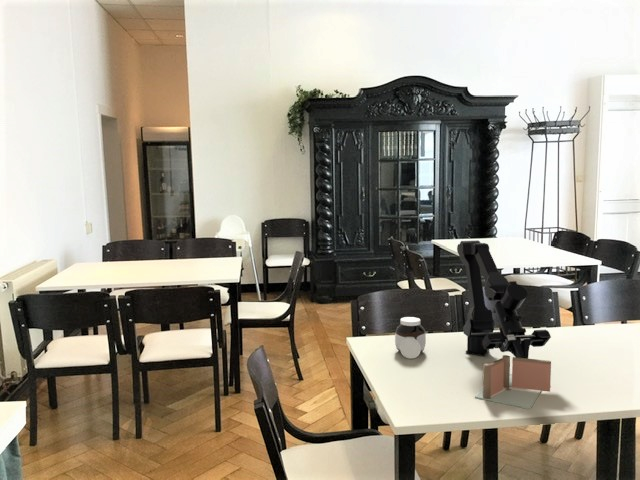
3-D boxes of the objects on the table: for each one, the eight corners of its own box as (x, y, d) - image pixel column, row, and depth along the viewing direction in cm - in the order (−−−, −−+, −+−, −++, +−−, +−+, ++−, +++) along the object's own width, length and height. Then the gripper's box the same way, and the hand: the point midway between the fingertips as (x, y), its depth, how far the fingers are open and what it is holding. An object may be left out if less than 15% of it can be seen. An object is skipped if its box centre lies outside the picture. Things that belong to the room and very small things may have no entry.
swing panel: (501, 387, 152) (502, 357, 151) (502, 384, 153) (502, 354, 152) (550, 393, 147) (551, 362, 146) (549, 390, 149) (551, 359, 148)
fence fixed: (482, 398, 145) (482, 365, 144) (494, 383, 156) (495, 352, 155) (502, 403, 142) (503, 369, 141) (514, 387, 153) (515, 355, 152)
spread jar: (415, 346, 191) (415, 315, 190) (435, 356, 181) (435, 322, 180) (387, 352, 186) (387, 319, 185) (405, 361, 176) (406, 327, 175)
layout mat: (475, 397, 146) (475, 396, 146) (497, 372, 165) (497, 371, 165) (530, 409, 138) (530, 408, 138) (546, 381, 157) (547, 380, 157)
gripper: (527, 330, 167) (545, 376, 158) (470, 333, 165) (485, 380, 156) (541, 311, 159) (561, 359, 149) (481, 314, 157) (497, 363, 147)
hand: (525, 366), depth 150 cm, fingers closed
